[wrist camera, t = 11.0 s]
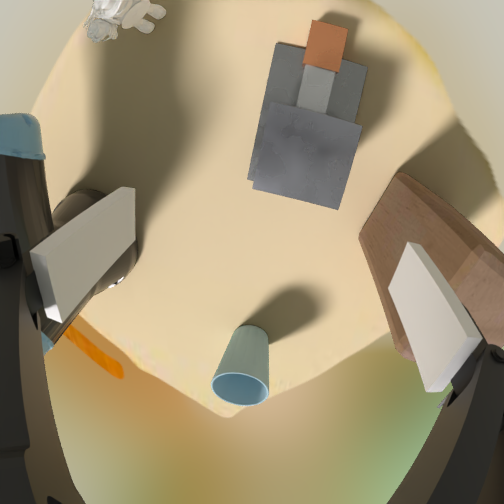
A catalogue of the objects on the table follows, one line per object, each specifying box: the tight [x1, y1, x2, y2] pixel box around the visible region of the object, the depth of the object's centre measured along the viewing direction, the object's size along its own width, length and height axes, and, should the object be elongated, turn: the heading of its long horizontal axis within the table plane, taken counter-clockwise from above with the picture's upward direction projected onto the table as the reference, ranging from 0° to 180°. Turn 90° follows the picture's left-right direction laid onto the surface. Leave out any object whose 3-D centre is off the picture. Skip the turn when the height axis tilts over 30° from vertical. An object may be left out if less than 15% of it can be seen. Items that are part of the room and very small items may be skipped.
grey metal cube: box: [252, 102, 363, 210], centre depth 25 cm, size 7×7×8 cm
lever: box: [247, 20, 368, 181], centre depth 26 cm, size 10×19×7 cm, turn 169°
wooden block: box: [359, 172, 504, 362], centre depth 25 cm, size 10×10×20 cm
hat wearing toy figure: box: [83, 0, 166, 43], centre depth 21 cm, size 9×4×12 cm, turn 135°
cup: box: [211, 325, 269, 406], centre depth 41 cm, size 8×8×10 cm
